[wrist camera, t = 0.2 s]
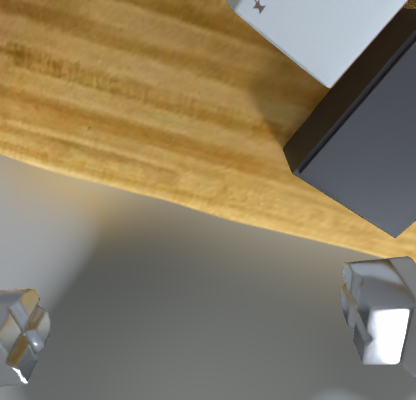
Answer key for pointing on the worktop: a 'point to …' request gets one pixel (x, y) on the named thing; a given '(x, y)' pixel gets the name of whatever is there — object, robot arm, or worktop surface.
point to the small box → (319, 30)
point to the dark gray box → (367, 132)
